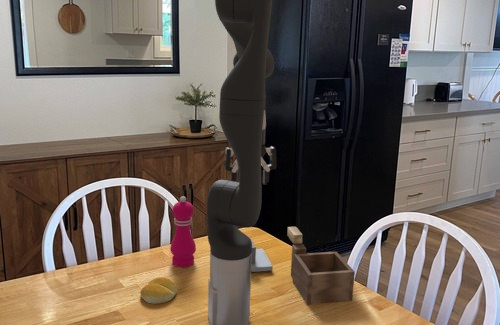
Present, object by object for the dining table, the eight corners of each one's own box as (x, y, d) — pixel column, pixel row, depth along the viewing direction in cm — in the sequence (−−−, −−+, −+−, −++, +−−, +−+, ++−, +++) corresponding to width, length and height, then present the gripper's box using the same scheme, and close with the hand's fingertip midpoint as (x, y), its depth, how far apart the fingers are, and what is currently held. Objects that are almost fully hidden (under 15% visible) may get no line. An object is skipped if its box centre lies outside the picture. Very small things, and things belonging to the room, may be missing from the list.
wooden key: (293, 243, 134) (294, 235, 133) (287, 235, 140) (287, 227, 139) (301, 243, 134) (302, 234, 134) (295, 234, 140) (295, 226, 139)
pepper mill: (191, 269, 138) (191, 201, 133) (166, 266, 139) (166, 199, 134) (198, 258, 145) (199, 193, 140) (175, 255, 146) (175, 191, 141)
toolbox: (306, 304, 121) (308, 270, 119) (288, 275, 136) (290, 244, 134) (352, 300, 124) (355, 267, 122) (329, 272, 139) (332, 242, 136)
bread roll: (134, 301, 121) (134, 286, 120) (154, 284, 129) (154, 271, 128) (164, 308, 118) (163, 293, 117) (182, 291, 126) (182, 277, 125)
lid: (230, 276, 135) (230, 252, 133) (223, 257, 147) (223, 235, 145) (272, 273, 138) (273, 249, 136) (262, 255, 149) (263, 233, 147)
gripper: (273, 124, 137) (271, 179, 141) (223, 124, 134) (222, 181, 138) (280, 128, 130) (278, 187, 134) (227, 129, 127) (226, 189, 131)
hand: (249, 184), depth 136 cm, fingers open, 8 cm apart
